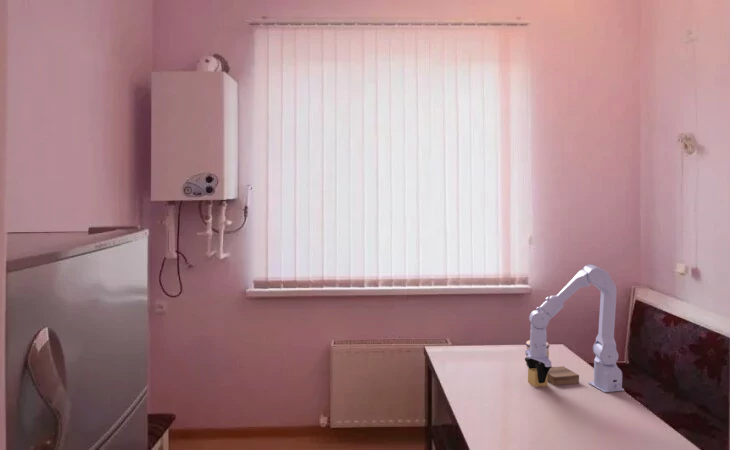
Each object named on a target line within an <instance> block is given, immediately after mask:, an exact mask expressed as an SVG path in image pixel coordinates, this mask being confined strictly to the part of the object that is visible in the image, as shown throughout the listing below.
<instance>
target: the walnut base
mask: <svg viewBox="0 0 730 450" xmlns="http://www.w3.org/2000/svg"><path fill="white" fill-rule="evenodd" d="M548 382H549V384H551V385H552V386H562V385H573V384H580V375H579V374H578V373H576V372H574V371H573V370H570V369H569V368H567V367H565V366H553V367H552V366H551V368H550V370H549V371H548Z"/></svg>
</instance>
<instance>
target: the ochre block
mask: <svg viewBox="0 0 730 450" xmlns="http://www.w3.org/2000/svg"><path fill="white" fill-rule="evenodd" d="M527 383H529V384H530V385H531V386H533V387H535V388H538V387H547V386H548V374H547V376H546V380H545V383H539V382H538V373H537V369H536V368H531V369H529V368H528V369H527Z"/></svg>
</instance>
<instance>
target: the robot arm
mask: <svg viewBox="0 0 730 450" xmlns="http://www.w3.org/2000/svg"><path fill="white" fill-rule="evenodd" d="M590 284H591V285H593V286H595V288H596V289H598V290H599V291H600V300H599V317H598V334H597V335H596V337H595V342H594V343H593V346H592V351H593V354H594V355H595V358H594V359H593V360H594V362H593V381H588V385H591V386H592V387H595V388H597V389H598V390H599V391H602V392H603V393H613V392H622V391H625V389H624V388H623V371H622V370H621V368H619V367H618V365H617V361H618V359H619V357H620V356H619V353H618V351H617V342H616V339H615V328H616V327H615V323H616V309H617V292H618V291H617V290H618V289H617V286H616V284H615V282H614V281H613V279H612V277H611V275H610V273H609V272H607V271H606V270H605V269H603V268H602V267H599V266H597V265H595V264H592V263H589V264H586V265H585V266H583V268H582V269H580V270H579V271H578V272H577V273H576V274H575V275H574V276H573V278H572V279H570V281H568V283H567V284H566V285H564V287H563V288H562V289H561V290H560V291H559V292H558V293H557V294H556V295H550V296H547V297H545V301H544V302H542V304H541V305H539V306H537V307H535V309H536V310H534V309H533V311H531V313H530V314H529V316H528V320H529V322H530V326H529V327H530V330H529V340H530V350H526V349H525V356H526V355H527V358H526V357H525V358H524V361H525V364H526V363H527V364H526V366H527V368H528V369H531V368H536V369H537V373H538V382H539V383H545V380H546V376H547V374H548V371H549V370H550V368H551V367H552V361H551V360H550V359H548V357H547V356H546V342H547V335H548V334H547V327H548V325H549V323H550V320H551V319H552V318H554V317H555V316H556V314H558V313H559V312H560V311H561V310H562V309H563V308H564V302H565V301H567V300H568V299H569V298H570V297H571V296H572V295H573V294H574V293H576V292H577V291H578V290H579V289H580V288H587V287H588V288H589V287H591V285H590ZM539 362H540V364H539Z"/></svg>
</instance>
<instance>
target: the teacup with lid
mask: <svg viewBox="0 0 730 450" xmlns="http://www.w3.org/2000/svg"><path fill="white" fill-rule="evenodd" d="M525 346H526V349H525V351H526V350H530V339H529V340H527V341H526V342H525ZM549 351H550V344H549V342H548V341H546V356H547V357H548V359H549V356H550V355H549V353H550V352H549ZM525 358H527V355H525ZM549 360H550V359H549ZM525 364H526V365H527V363H526V362H525ZM539 364H540V362H539Z"/></svg>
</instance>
